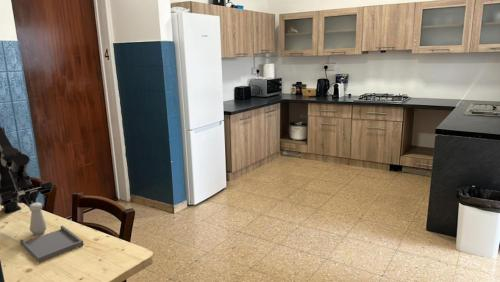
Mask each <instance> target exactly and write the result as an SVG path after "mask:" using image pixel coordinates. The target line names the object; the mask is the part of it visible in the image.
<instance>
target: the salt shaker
mask: <svg viewBox="0 0 500 282" xmlns="http://www.w3.org/2000/svg"><path fill="white" fill-rule="evenodd" d="M28 209H29V211H30V214H31V215H30V224H29V231H30V232H31V234H32V235H33V236H37V237H40V236H42V235H44V233H45V232H46V230H47V224H46V221H45V218H44V214H43V211H42V209H43V204H42V203H41V202H38V201H36V203H32V204H31V205H30V207H28Z"/></svg>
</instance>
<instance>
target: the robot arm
mask: <svg viewBox="0 0 500 282" xmlns="http://www.w3.org/2000/svg"><path fill="white" fill-rule="evenodd" d="M29 164H30V157H29V156H28V155H27V154H25V153H22V152H21V151H20V150H19V149H18V148H16V147H13V145H12V143H11V141H10V139H9V137H8V136H7V134H6V129H5V127H3V126H0V206H1V211H2V212H3V213H5V214H8V213H11V212H15V211H19V210H21V209H22V207H21V206H20V205H19V204H24V205H26V207H28V208H29V207H30V205H31V204H32V203H36V202H37V198H39V194H41V195H42V196H43V195H47V194H50V193H51V192H52V191H53V188H54V183H53V182H51V181H45V182H42V183H40V185H39V186H38V187H35V188H34V184H33V182H32V181H31V177H30V175H29V174H28V172H27V171H28V169H29V168H28V167H29Z"/></svg>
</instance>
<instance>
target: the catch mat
mask: <svg viewBox="0 0 500 282" xmlns="http://www.w3.org/2000/svg"><path fill="white" fill-rule="evenodd" d="M19 243H20V245H21V246H22V247H23V248H24V249H25V250H26V252H28V253H29V254H30V255H31V256H32V257H33V258H34V260H36V261H37V262H38V264H40V263H42V262H45V261H47V260H50V259H52V258H55V257H57V256H60V255H62V254H64V253H65V254H66V253H67V252H70V251H72V250H74V249H77V248H80V247H83V246H84V240H83V239H81V238H80V237H79V236H77V235H76V234H75V233H73V232H72V231H71V230H69V229H68V228H66V226H64V225H60V229H58V230H55V231H51V232H48V233H47V234H42V235H39V236H37V237H34V238H32V239H29V240H26V241H25V240H24V239H23V238H21V239H19Z"/></svg>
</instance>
